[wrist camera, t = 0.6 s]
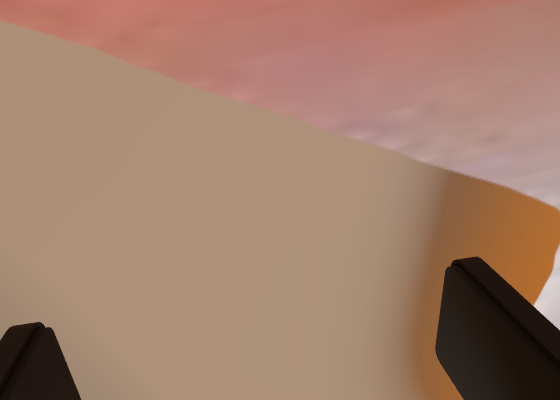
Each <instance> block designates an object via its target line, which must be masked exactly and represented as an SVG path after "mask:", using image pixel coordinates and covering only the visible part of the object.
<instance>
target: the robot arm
mask: <svg viewBox="0 0 560 400" xmlns="http://www.w3.org/2000/svg"><path fill="white" fill-rule="evenodd" d="M436 354H437V358H438V360H439V362H440V364H441V365H442V367H443V368H444V370H445V371H446V373H447V374H448V376H449V377H450V379H451V381H452V382H453V384H454V385H455V386H456V388H457V390H458V391H459V393H460V394H461V396H462V397H463V399H464V400H560V330H559V329H558V328H556V327H555V326H554V325H553V324H552V323H551V322H550V321H549V320H548V319H547V318H546V317H544V316H543V315H542V314H541V313H540V312H539V311H538V310H537V309H536V308H535V307H534V306H532V305H531V304H530V303H529V302H528V301H527V300H526V299H525V298H524V297H523V296H521V295H520V294H519V293H518V292H517V291H516V290H515V289H514V288H513V287H512V286H511V285H509V284H508V283H507V282H506V281H505V280H504V279H503V278H502V277H501V276H500V275H499V274H498V273H496V272H495V271H494V270H493V269H492V268H491V267H490V266H489V265H488V264H487V263H486V262H484V261H483V260H482V259H481V258H479V257H471V258H464V259H457V260H454V261H453V262H452V264H451V266H450V267H447V269H446V271H445V278H444V285H443V293H442V301H441V308H440V316H439V323H438V331H437V339H436ZM0 400H81V398H80V395H79V393H78V390H77V388H76V385H75V383H74V380H73V378H72V376H71V373H70V370H69V368H68V366H67V363H66V361H65V358H64V356H63V353H62V351H61V348H60V346H59V343H58V341H57V339H56V336H55V333H54V331H53V330H52V328H50V327H47V328H45V326H44V324H42V323H41V322H36V323H29V324H23V325H16V326H12V327H10V328H9V329H8V330H7V331H6V333H5V334H4V336H3V337H2V339H1V340H0Z"/></svg>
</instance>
